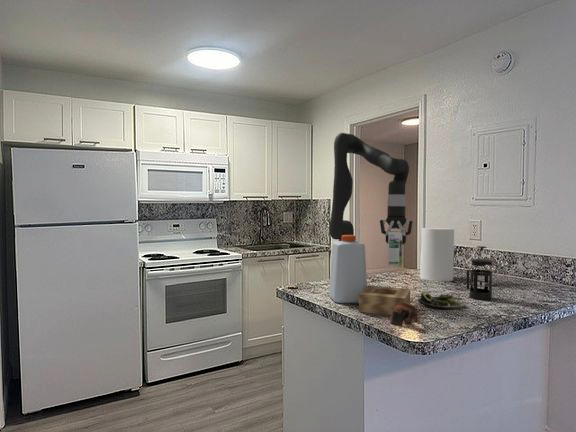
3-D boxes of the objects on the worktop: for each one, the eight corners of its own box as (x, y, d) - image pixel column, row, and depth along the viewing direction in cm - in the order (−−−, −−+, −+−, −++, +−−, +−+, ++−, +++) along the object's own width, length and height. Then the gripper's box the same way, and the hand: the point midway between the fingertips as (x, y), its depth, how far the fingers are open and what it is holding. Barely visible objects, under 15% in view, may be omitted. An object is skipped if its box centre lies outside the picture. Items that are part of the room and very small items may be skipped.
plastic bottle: (370, 303, 169) (371, 236, 168) (336, 304, 166) (336, 237, 165) (358, 294, 184) (359, 233, 183) (326, 296, 181) (327, 234, 180)
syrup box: (387, 265, 173) (388, 231, 172) (389, 263, 178) (390, 230, 178) (401, 266, 171) (402, 232, 170) (402, 264, 176) (403, 231, 175)
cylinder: (458, 281, 215) (459, 229, 214) (426, 281, 215) (427, 229, 214) (446, 275, 232) (447, 227, 231) (416, 275, 232) (417, 227, 231)
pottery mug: (383, 321, 145) (390, 300, 147) (405, 332, 146) (412, 311, 148) (399, 323, 133) (407, 299, 136) (423, 334, 134) (430, 311, 137)
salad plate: (450, 298, 179) (450, 287, 179) (477, 308, 162) (477, 297, 162) (411, 300, 175) (411, 290, 175) (434, 311, 158) (434, 299, 158)
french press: (498, 299, 177) (499, 247, 176) (486, 301, 172) (487, 248, 171) (473, 293, 187) (474, 244, 186) (461, 296, 181) (462, 245, 180)
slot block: (358, 311, 155) (358, 294, 155) (368, 301, 171) (368, 285, 171) (404, 317, 149) (404, 298, 148) (409, 306, 164) (410, 289, 164)
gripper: (378, 205, 173) (377, 244, 173) (412, 205, 167) (412, 245, 168) (381, 204, 180) (380, 242, 180) (414, 205, 174) (414, 244, 175)
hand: (395, 243), depth 174 cm, fingers closed on syrup box, 5 cm apart
